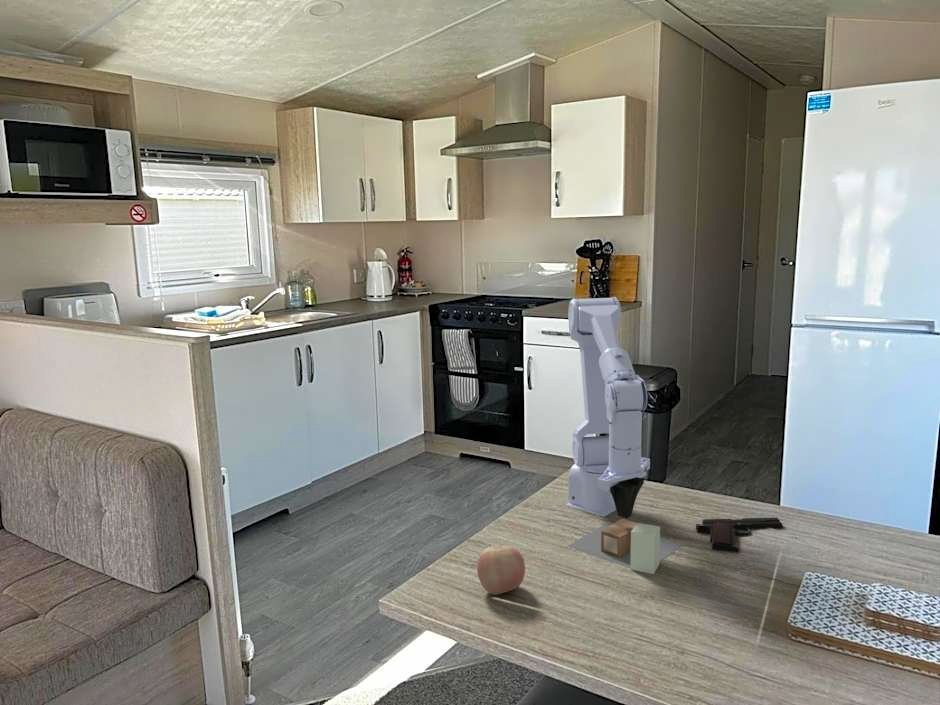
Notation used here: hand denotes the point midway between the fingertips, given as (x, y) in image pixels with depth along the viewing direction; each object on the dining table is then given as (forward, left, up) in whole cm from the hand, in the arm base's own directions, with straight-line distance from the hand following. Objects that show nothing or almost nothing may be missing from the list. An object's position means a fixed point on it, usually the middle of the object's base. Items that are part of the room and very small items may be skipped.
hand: (624, 516), depth 132 cm
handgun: (+15, +18, -7) cm, 25 cm away
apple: (-7, -26, -6) cm, 28 cm away
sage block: (+7, -4, -6) cm, 10 cm away
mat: (0, +1, -6) cm, 6 cm away
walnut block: (0, +3, -4) cm, 5 cm away
